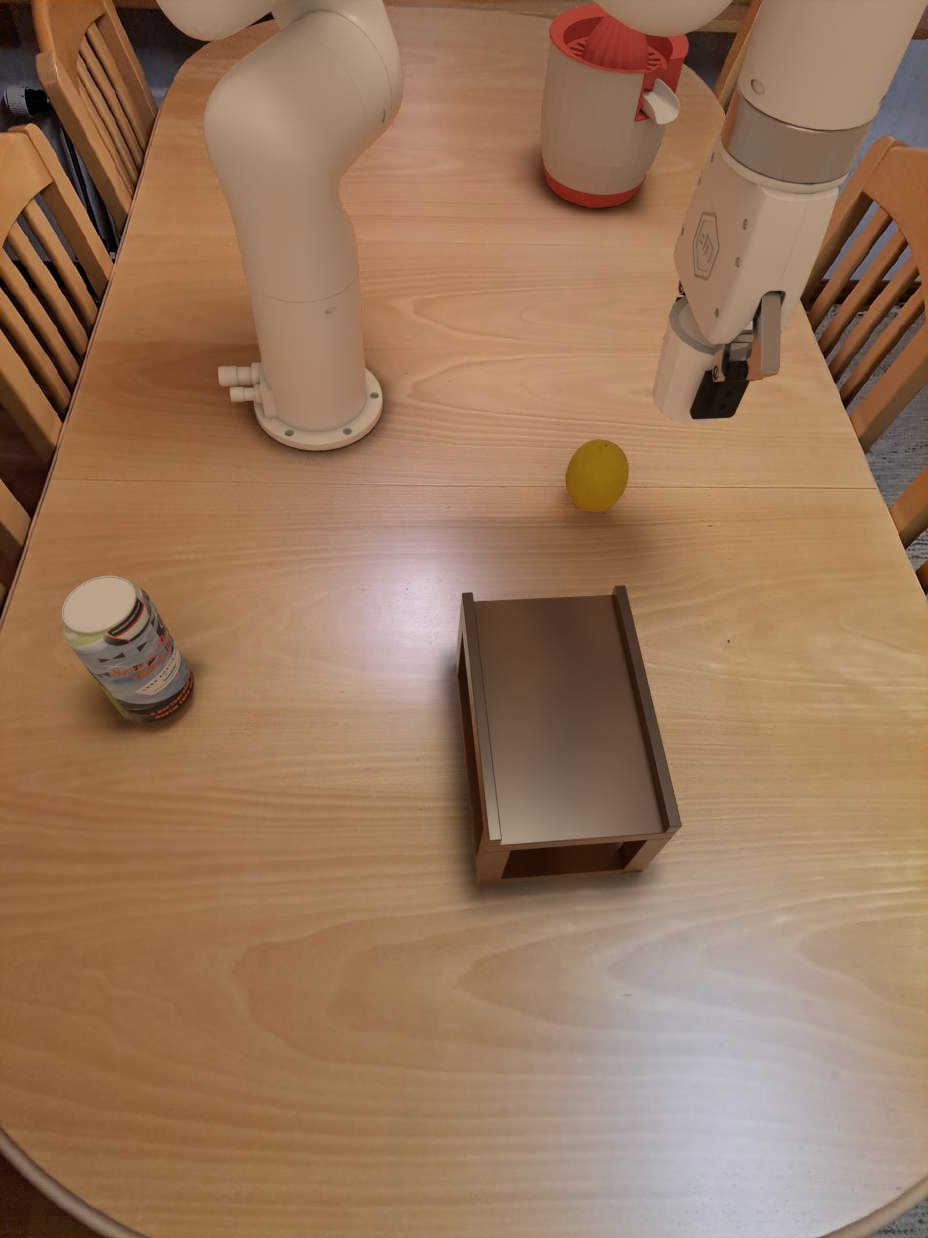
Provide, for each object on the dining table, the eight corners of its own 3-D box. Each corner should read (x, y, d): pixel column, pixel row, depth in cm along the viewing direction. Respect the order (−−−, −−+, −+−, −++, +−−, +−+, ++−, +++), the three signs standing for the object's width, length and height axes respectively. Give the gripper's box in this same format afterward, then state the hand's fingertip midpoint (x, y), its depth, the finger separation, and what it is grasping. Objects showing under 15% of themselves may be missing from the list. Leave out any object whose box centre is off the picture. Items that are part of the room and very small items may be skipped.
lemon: (579, 536, 76) (595, 477, 69) (548, 494, 78) (561, 433, 71) (629, 516, 77) (650, 457, 70) (597, 475, 80) (615, 414, 73)
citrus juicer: (598, 242, 99) (637, 59, 83) (505, 173, 106) (523, -9, 89) (686, 200, 105) (739, 21, 88) (593, 138, 112) (625, -40, 95)
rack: (477, 885, 58) (489, 841, 50) (455, 662, 68) (461, 592, 59) (642, 871, 60) (682, 826, 51) (598, 654, 69) (625, 584, 60)
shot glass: (733, 439, 61) (769, 364, 55) (641, 423, 61) (667, 346, 55) (734, 376, 64) (768, 299, 58) (646, 360, 64) (671, 282, 59)
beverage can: (160, 745, 63) (111, 669, 52) (88, 697, 64) (28, 615, 54) (215, 683, 66) (179, 601, 55) (146, 639, 67) (99, 551, 57)
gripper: (687, 51, 50) (621, 303, 65) (778, 224, 41) (677, 470, 56) (805, 52, 51) (713, 300, 66) (919, 222, 42) (782, 465, 57)
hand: (697, 377), depth 61 cm, fingers closed on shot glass, 6 cm apart
